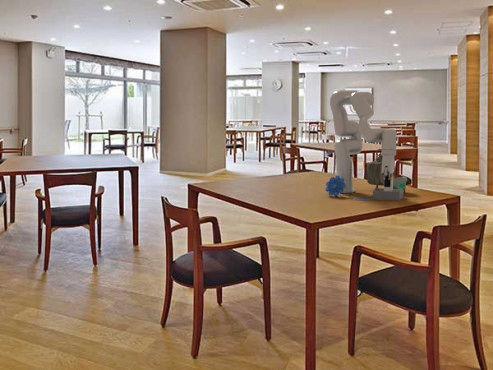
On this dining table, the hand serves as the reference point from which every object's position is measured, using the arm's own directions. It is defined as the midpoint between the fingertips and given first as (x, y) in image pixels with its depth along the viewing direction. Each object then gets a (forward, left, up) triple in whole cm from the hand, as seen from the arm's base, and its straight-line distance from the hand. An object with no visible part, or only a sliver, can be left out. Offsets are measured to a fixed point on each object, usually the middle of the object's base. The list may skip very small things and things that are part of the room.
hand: (388, 186), depth 264 cm
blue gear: (-30, +2, -7) cm, 31 cm away
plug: (0, 0, -5) cm, 5 cm away
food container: (+3, +18, -7) cm, 20 cm away
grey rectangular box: (0, 0, -7) cm, 7 cm away
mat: (-12, -6, -7) cm, 15 cm away
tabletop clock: (-12, +29, -7) cm, 32 cm away
